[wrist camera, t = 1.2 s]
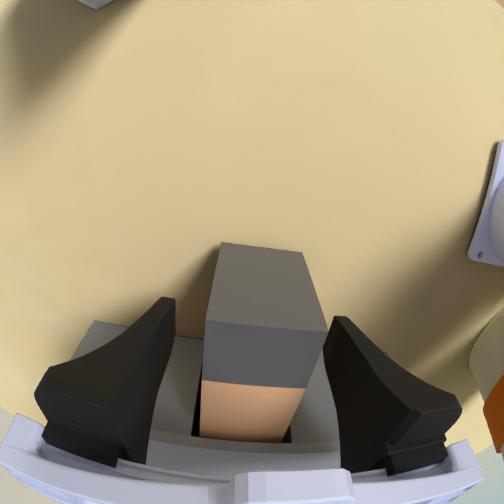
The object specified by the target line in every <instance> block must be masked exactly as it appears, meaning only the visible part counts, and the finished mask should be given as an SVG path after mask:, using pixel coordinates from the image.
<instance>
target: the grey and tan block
mask: <svg viewBox="0 0 504 504" xmlns="http://www.w3.org/2000/svg"><path fill="white" fill-rule="evenodd" d="M328 332H329V331H328V328H327V325H326V322H325V319H324V316H323V313H322V309H321V306H320V303H319V300H318V297H317V294H316V291H315V288H314V285H313V282H312V280H311V277H310V274H309V271H308V268H307V265H306V262H305V259H304V256H303V254H302V252H294V251H286V250H279V249H271V248H263V247H255V246H248V245H240V244H232V243H224V242H221V246H220V250H219V255H218V260H217V265H216V270H215V274H214V279H213V284H212V289H211V294H210V299H209V304H208V309H207V314H206V320H205V334H204V350H203V368H202V388H201V412H200V437H201V438H209V439H218V440H228V441H240V442H257V443H281V441H282V439H283V437H284V435H285V433H286V431H287V429H288V426H289V424H290V422H291V420H292V418H293V416H294V414H295V412H296V409H297V407H298V405H299V403H300V401H301V398H302V396H303V394H304V391H305V389H306V387H307V385H308V382H309V380H310V377H311V375H312V373H313V370H314V368H315V365H316V363H317V360H318V358H319V355H320V353H321V350H322V348H323V345H324V343H325V340H326V337H327V335H328Z"/></svg>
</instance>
